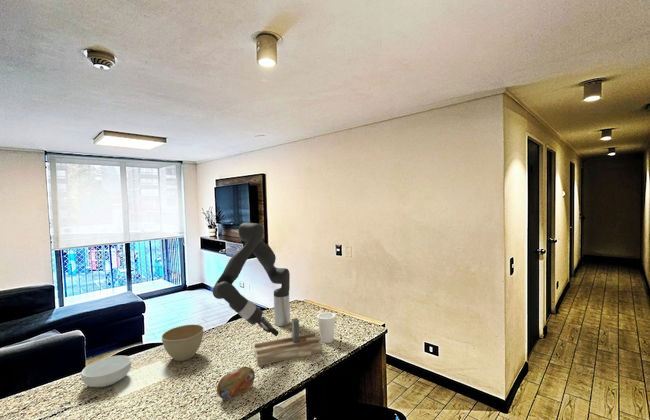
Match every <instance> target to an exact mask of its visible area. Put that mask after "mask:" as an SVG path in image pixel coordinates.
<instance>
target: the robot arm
mask: <svg viewBox="0 0 650 420" xmlns="http://www.w3.org/2000/svg"><path fill="white" fill-rule="evenodd" d="M264 230H265V229H264V227H263V225H262V224H260V223H256V222H255V223H254V222H243V223H241V224H240V225H239V226H238V235H239V237H240V239H241V240H242V241H243V243H244V245H243V247H242V248H240V250H237V252H235V254H233V255H232V257H230V259H229V260H228V261H227V264H226V266H225V268H224V270H223V271H222V273H221V275H220V277H219V278H218V279H217V281H216V282H215V284H214V286H213V288H212V295H213V297H214V298H215V299H218V300H221V299H222V300H224V301H225V302H226V303H228V305H229V307H230V308H231V309H232V310H233V311H234V312H235V313H237V314H238V315H239V316H240V317H241V318H242V319H244V320H245V321H246V322H248V324H250V325H251V326H254V325H256V324H257V325H258V327H259V328H261V329H262V330H263V331H264V332H267V333H271V334H272V336H274V337H277V336H278V335H279V330H278V329H276V328H275V327H274V326H273V325H272V323H270V321H269V320H268V319H266V317H265V316H263V313H264V312H263V310H261V309H260V307H258V306H257V305H255V304H254V302H252V301H250V300H249V299H248V298H246V297H245V296H244V295H242V293H240V292H239V290H238V289H237V288H236V287H235V286H234V285H233V283H234V282H235V281H236V280H237V279H239V275H240V274H241V271H242V270H243V267H244V266H245V264H246V262H247V260H248V258H250V256H251V255H252V253H253V255H254V256H255V258H256V259H257V260H258V262H259V263H260V264H261V266H262V267H263V269H264V271H265V272H266V274H267V277H268V278H269V280H270V281H271V284H277V285H281V286H280V287H279V288H276V289H274V290H273V310H274V311H273V312H274V313H273V314H274V316H273V317H274V325H275V326H277V327H285V326H288V325H290V324H291V310H290V308H291V307H290V285H291V284H290V277H291V274H290V273H291V272H290V270H289V269H288V268H282V267H281V268H280V267H275V262H276V260H277V259H276V254H275V252H274V250H273V249H272V248H271V246H270V245H269V244H267V243H265V242H264V241H262V239H263V237H264Z"/></svg>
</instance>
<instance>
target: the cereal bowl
mask: <svg viewBox="0 0 650 420" xmlns="http://www.w3.org/2000/svg"><path fill="white" fill-rule="evenodd" d="M131 368H132V357H130V356H128V355H113V356H108V357H104V358H101V359H98V360H96V361H93V362H91V363H90V364H87V365H86V366H85V367H84V368H83V369H82V371H81V373H80V374H81V380H82V382H83V384H85V385H86V386H87V387H90V388H91V387H92V388H103V387H105V388H106V387H109V386H111V385H114V384H115V383H117V382H119V381H120V380H122V379H123V378H125V376H127V374H128V373H129V372H130V370H131Z"/></svg>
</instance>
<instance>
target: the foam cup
mask: <svg viewBox="0 0 650 420" xmlns="http://www.w3.org/2000/svg"><path fill="white" fill-rule="evenodd" d="M316 317H317V318H316V319H317V325H318V330H319V335H320V341H321V342H322V343H323V344H324V343H325V344H330V343H333V342H334V335H335V326H336V314H335V313H333V312H330V311H329V312H326V311H324V312H320V313H318V314H317V316H316Z"/></svg>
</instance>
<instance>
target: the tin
mask: <svg viewBox="0 0 650 420" xmlns="http://www.w3.org/2000/svg"><path fill="white" fill-rule="evenodd" d="M255 378H256V375H255V371H254V369H253V368H251V367H249V366H241V367H239V368H237V369H235V370H234V371H232V372H230V373H227V374H225V375H223V376H222V377H221V379H220V380H219V381H218V384H217V386H216V392H217V395H218V397H219V398H220V399H221V400H223V401H228V400H229V401H230V400H232V399H233V398H235V397H238V396H239V395H240V394H242V393H244V392H246V391H247V390H249V389H251V387H252V386H253V384H254V381H255Z"/></svg>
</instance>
